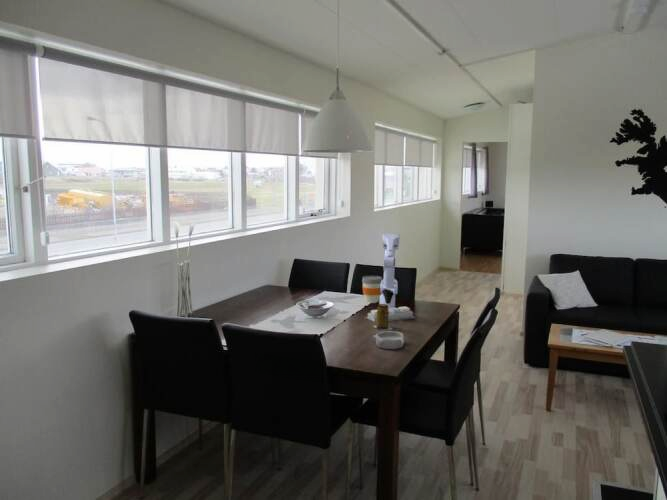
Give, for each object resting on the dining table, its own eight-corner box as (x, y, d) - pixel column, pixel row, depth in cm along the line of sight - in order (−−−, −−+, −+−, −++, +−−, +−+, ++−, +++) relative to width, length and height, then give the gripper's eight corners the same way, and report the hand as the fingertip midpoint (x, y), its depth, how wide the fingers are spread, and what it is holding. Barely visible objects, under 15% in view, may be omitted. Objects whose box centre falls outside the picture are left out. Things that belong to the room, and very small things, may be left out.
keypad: (364, 317, 300) (364, 312, 300) (403, 312, 312) (404, 307, 311) (375, 323, 290) (375, 317, 289) (416, 317, 301) (416, 312, 301)
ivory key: (398, 312, 305) (398, 307, 305) (405, 311, 307) (405, 306, 307) (402, 314, 301) (403, 309, 301) (409, 313, 303) (409, 308, 303)
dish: (402, 340, 261) (402, 330, 260) (407, 350, 247) (407, 339, 246) (372, 340, 260) (372, 330, 260) (375, 350, 247) (375, 339, 246)
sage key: (370, 315, 297) (370, 310, 297) (377, 314, 299) (377, 309, 299) (374, 317, 293) (375, 312, 293) (381, 316, 295) (382, 311, 295)
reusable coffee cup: (385, 300, 340) (386, 277, 338) (375, 304, 329) (376, 280, 327) (367, 297, 346) (368, 274, 344) (357, 301, 336) (358, 277, 334)
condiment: (384, 325, 287) (385, 302, 285) (393, 329, 279) (394, 306, 277) (372, 326, 283) (373, 304, 282) (381, 331, 276) (381, 307, 274)
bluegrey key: (389, 313, 303) (389, 308, 302) (396, 312, 305) (396, 307, 304) (393, 315, 299) (393, 310, 298) (400, 314, 301) (400, 309, 300)
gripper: (375, 277, 301) (375, 300, 303) (389, 282, 289) (388, 307, 291) (386, 276, 304) (385, 299, 307) (400, 281, 292) (400, 305, 294)
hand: (388, 303), depth 299 cm, fingers closed
